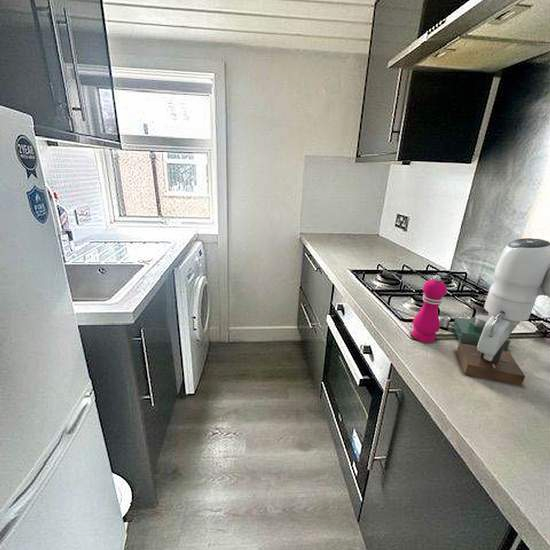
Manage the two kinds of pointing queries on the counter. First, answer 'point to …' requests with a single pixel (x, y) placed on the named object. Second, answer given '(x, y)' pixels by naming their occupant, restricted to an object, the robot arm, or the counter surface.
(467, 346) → the lock base
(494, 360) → the lock dial
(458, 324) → the dispenser
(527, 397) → the counter surface
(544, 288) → the robot arm
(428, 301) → the pepper mill
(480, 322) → the pump
